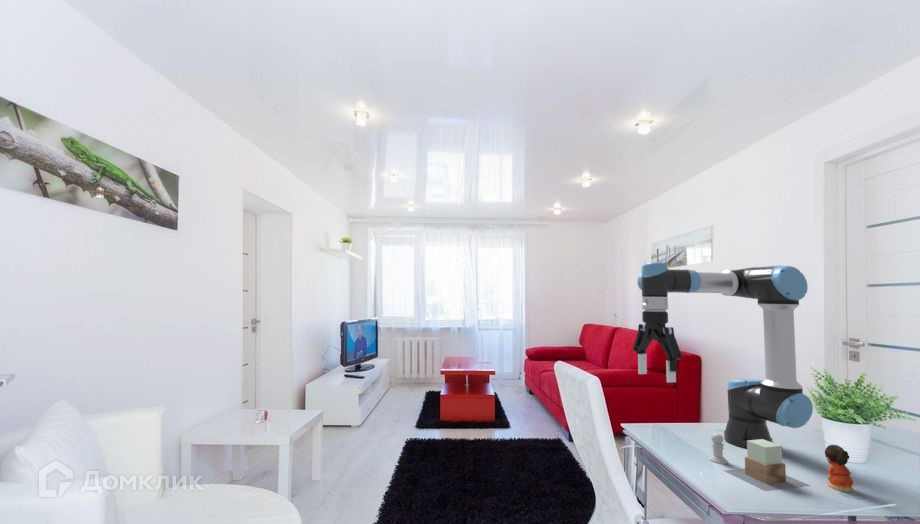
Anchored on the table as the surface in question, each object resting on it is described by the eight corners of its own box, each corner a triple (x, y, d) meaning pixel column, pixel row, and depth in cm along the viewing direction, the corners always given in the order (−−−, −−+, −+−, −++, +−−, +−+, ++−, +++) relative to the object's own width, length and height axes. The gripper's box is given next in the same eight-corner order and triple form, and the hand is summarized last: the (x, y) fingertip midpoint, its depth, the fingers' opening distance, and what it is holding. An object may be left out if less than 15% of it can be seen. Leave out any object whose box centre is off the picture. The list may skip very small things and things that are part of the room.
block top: (763, 455, 132) (762, 439, 133) (782, 463, 126) (781, 445, 127) (747, 457, 131) (746, 440, 131) (765, 465, 125) (765, 447, 125)
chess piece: (705, 459, 143) (704, 431, 144) (717, 458, 145) (716, 430, 145) (719, 466, 138) (718, 437, 138) (731, 464, 139) (731, 435, 140)
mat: (765, 467, 137) (765, 466, 137) (810, 486, 123) (810, 485, 123) (723, 471, 133) (723, 470, 133) (765, 492, 120) (765, 490, 120)
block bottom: (763, 471, 133) (763, 455, 133) (785, 481, 126) (785, 463, 126) (745, 473, 131) (744, 456, 131) (766, 483, 124) (766, 465, 124)
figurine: (860, 493, 120) (858, 448, 121) (846, 495, 118) (844, 450, 119) (835, 483, 126) (833, 441, 127) (821, 485, 124) (819, 442, 125)
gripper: (621, 309, 150) (622, 371, 149) (672, 312, 126) (673, 386, 124) (640, 309, 152) (641, 370, 150) (694, 312, 128) (696, 385, 126)
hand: (656, 377), depth 137 cm, fingers open, 13 cm apart
